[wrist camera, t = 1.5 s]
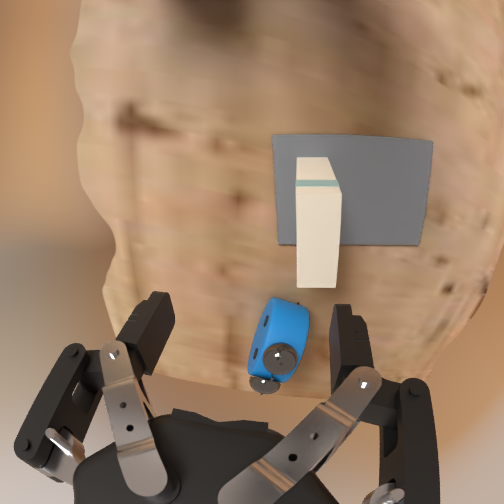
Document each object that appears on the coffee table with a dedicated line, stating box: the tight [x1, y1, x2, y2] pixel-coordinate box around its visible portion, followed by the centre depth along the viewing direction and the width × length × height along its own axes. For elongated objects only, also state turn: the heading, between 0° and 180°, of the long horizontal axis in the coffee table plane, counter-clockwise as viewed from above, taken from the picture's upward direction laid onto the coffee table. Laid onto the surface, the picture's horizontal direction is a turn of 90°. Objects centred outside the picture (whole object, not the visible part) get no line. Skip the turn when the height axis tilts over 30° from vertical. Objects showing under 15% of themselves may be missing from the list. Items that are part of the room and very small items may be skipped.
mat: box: [272, 134, 433, 245], centre depth 38 cm, size 22×16×1 cm
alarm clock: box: [248, 297, 309, 395], centre depth 45 cm, size 13×6×15 cm, turn 163°
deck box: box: [295, 157, 342, 288], centre depth 33 cm, size 4×10×14 cm, turn 5°
